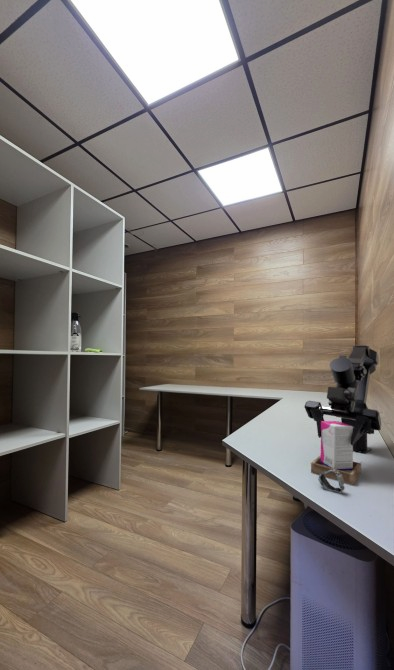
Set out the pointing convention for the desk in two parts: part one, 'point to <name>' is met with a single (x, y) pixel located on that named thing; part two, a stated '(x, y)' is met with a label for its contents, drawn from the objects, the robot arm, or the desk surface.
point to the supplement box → (336, 445)
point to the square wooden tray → (347, 476)
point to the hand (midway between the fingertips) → (334, 440)
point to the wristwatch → (327, 485)
